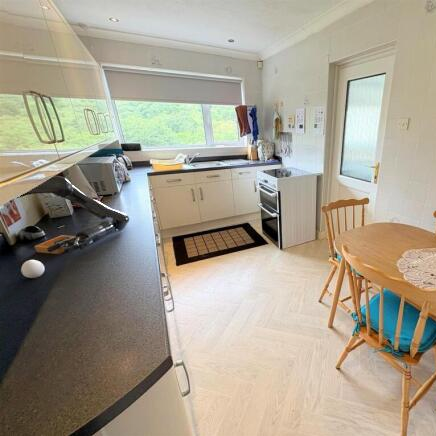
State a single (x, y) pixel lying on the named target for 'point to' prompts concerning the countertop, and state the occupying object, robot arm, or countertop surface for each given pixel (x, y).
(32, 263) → the egg
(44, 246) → the bin
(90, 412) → the countertop surface
